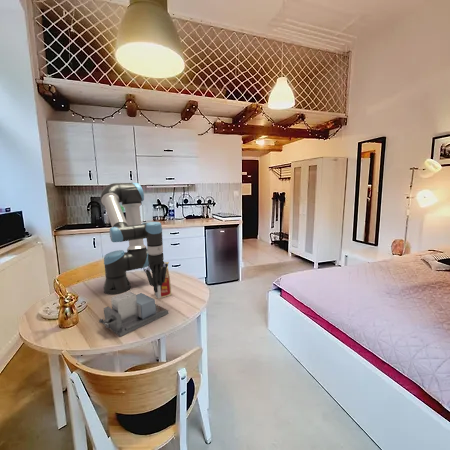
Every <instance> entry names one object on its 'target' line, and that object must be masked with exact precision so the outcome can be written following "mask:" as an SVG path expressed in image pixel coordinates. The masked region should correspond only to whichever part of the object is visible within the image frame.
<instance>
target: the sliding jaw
mask: <svg viewBox="0 0 450 450" xmlns="http://www.w3.org/2000/svg"><path fill="white" fill-rule="evenodd" d="M136 298H137V310H138V316H139V317H140V318H142V319H144V318H146V317H148V316H151V315H153V314H155V313H156V308H155V304H156V299H155V298H153V297H150V296H149V295H147V294H144V293H142V292H140V293H138V294H136Z"/></svg>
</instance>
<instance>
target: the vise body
mask: <svg viewBox="0 0 450 450" xmlns="http://www.w3.org/2000/svg"><path fill="white" fill-rule="evenodd" d="M155 308H156V313H155V314H153V315H151V316H148V317H146V318H144V319H142V318H140V317H139V316H138V319H136V320H134V321H131V322H129V323H127V324H125V325H123V326H122V321H121V315H120V314H119V313H117V312H116V311H114V310H113V309H112V307H110V306H106V307H103V315H104V319H103V318H99V319H98V323H99V324H103V325H104V326H105V328H106V329H109V330H111V331H112V332H113V333H114V334H116V335H117V336H119V337H121V338H122V337H123V336H125V335H127V334H130V333H131V332H133V331H135V330H137V329H140V328H142V327H145V325H147V324H150V323H152V322H153V321H156V320H159V319H160V318H162V317H164V316H166V315H168V314H169V310H168V309H167V308H164V307H162V306H161V305H158V304H156V303H155Z"/></svg>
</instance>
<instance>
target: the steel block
mask: <svg viewBox="0 0 450 450" xmlns="http://www.w3.org/2000/svg"><path fill="white" fill-rule="evenodd" d="M136 295H137V294H136V293H134V292H133V291H130V290H129V291H128V290H127V291H125V292H122V293H119V294H116V295H115V296H113V297H110V300H111V301H110V302H111V309H113V310H114V311H116V312H117V313H119V314H120V315H121V321H122V326H123V325H125V324H127V323H129V322H131V321H134V320H136V319H138V310H137V298H136Z"/></svg>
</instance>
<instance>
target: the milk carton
mask: <svg viewBox="0 0 450 450" xmlns="http://www.w3.org/2000/svg"><path fill="white" fill-rule="evenodd" d="M164 263H166V264H168V265H169V263H170V262H169V261H167V262H165V261H164ZM170 277H171V276H170V272H169V266H168V267H167V270H166V276H165V282H164V283H162V284H163V285H161V286H162V290H161V298H160V299H163V298H166V296H167V297H169V296H172V284H171V278H170ZM162 297H163V298H162ZM156 298H157V297H156ZM157 299H159V298H157Z"/></svg>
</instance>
